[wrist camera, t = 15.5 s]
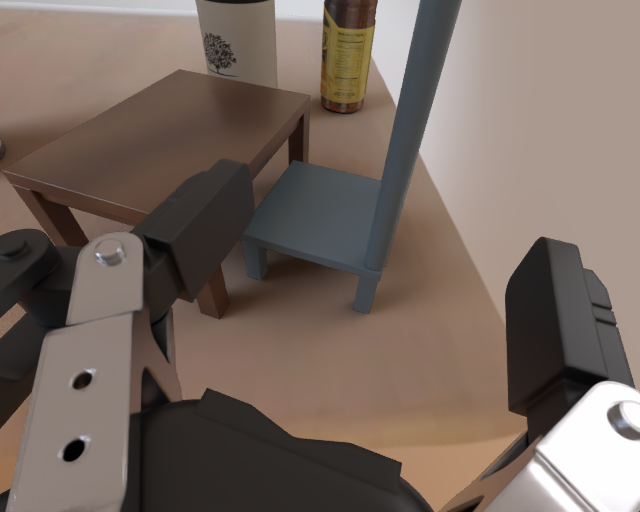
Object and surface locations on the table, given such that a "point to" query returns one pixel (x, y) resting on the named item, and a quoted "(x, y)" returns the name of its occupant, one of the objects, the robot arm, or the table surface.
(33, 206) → the walnut table
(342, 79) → the sauce bottle
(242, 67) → the travel mug
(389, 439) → the table surface
